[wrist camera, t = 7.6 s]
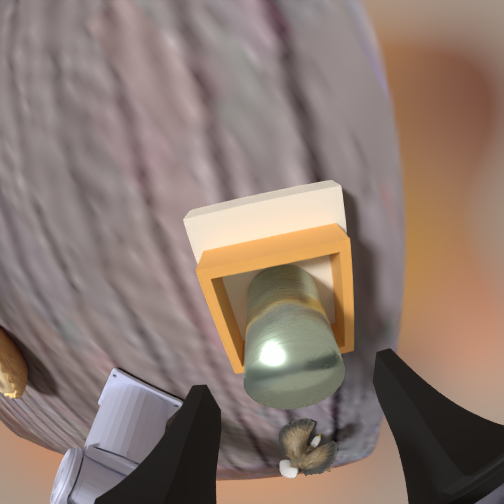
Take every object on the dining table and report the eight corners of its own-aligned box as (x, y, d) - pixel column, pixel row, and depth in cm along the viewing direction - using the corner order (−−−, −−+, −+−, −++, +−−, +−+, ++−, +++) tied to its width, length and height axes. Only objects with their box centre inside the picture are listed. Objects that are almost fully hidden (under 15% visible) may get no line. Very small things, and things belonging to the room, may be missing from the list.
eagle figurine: (342, 447, 29) (350, 429, 24) (319, 490, 24) (322, 485, 19) (293, 430, 33) (289, 408, 27) (268, 470, 28) (257, 459, 23)
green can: (287, 332, 18) (299, 417, 12) (233, 302, 17) (224, 389, 11) (330, 287, 17) (364, 368, 11) (275, 250, 16) (288, 329, 10)
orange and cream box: (345, 329, 21) (361, 368, 17) (237, 350, 22) (235, 392, 18) (331, 179, 16) (357, 195, 12) (190, 210, 17) (171, 235, 13)
